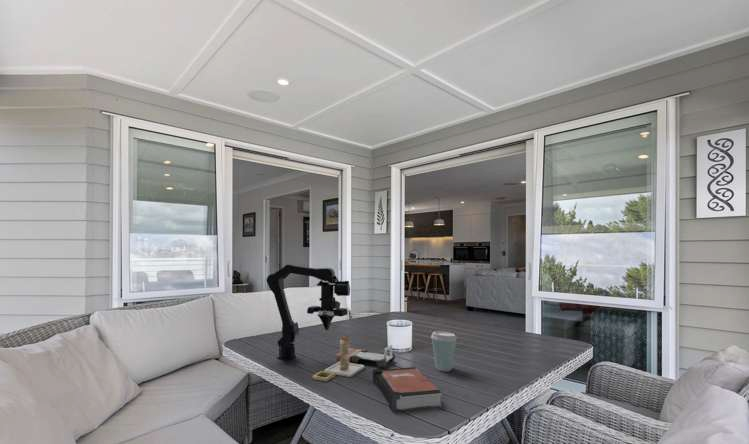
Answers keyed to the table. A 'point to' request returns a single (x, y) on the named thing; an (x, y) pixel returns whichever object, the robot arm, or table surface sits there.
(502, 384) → the table surface
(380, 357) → the trolley
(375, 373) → the book
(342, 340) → the pin
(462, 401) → the table surface
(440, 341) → the disposable coffee cup
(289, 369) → the table surface
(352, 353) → the bar
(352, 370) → the tray
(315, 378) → the pin socket
